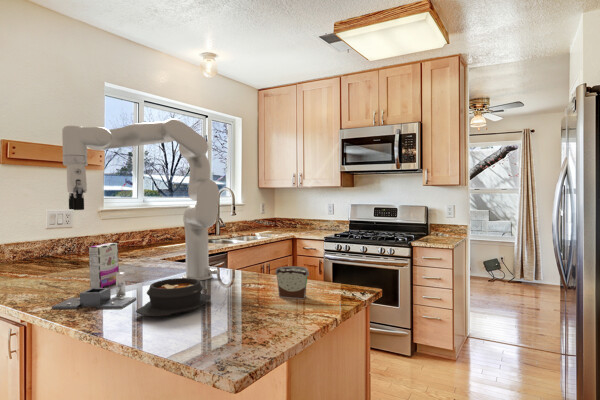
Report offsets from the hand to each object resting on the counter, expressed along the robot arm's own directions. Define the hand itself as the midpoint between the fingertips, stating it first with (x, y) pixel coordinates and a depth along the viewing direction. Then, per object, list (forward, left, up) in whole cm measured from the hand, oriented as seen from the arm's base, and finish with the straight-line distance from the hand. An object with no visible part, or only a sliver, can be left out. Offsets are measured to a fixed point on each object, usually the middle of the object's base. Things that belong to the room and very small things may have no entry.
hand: (76, 209), depth 135 cm
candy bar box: (0, -17, -31) cm, 36 cm away
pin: (-14, -2, -31) cm, 34 cm away
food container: (-77, 0, -31) cm, 83 cm away
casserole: (-40, +15, -32) cm, 53 cm away
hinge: (-11, +9, -31) cm, 34 cm away
